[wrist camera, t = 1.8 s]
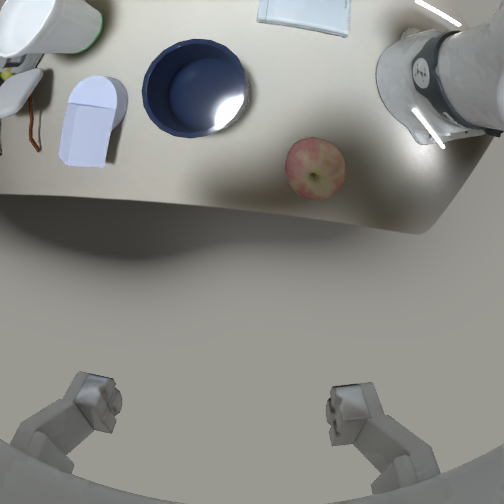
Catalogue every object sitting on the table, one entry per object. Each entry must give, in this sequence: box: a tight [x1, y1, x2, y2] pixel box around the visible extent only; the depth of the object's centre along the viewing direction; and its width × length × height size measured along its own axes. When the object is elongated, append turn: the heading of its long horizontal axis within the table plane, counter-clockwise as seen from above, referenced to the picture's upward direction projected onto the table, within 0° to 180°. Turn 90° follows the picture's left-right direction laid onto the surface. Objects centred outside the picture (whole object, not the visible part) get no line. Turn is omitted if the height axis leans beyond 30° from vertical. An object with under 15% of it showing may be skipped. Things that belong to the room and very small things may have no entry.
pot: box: [142, 39, 250, 138], centre depth 31 cm, size 12×12×9 cm
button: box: [0, 68, 43, 118], centre depth 28 cm, size 10×2×10 cm
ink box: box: [0, 53, 43, 73], centre depth 25 cm, size 9×5×12 cm, turn 47°
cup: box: [0, 0, 103, 58], centre depth 23 cm, size 12×12×15 cm
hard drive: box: [257, 0, 351, 37], centre depth 28 cm, size 2×8×12 cm
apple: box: [285, 138, 346, 200], centre depth 36 cm, size 8×8×8 cm
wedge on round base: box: [59, 76, 127, 167], centre depth 33 cm, size 9×7×13 cm
